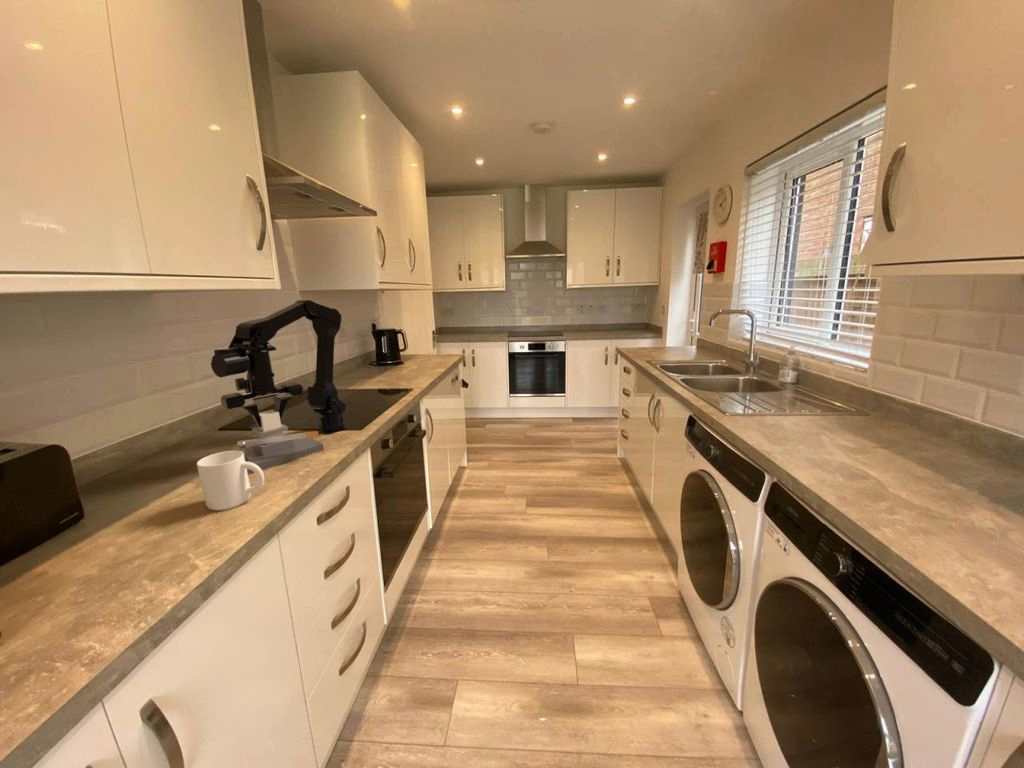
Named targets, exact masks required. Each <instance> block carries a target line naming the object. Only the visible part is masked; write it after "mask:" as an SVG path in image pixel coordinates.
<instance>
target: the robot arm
mask: <svg viewBox="0 0 1024 768" xmlns="http://www.w3.org/2000/svg"><path fill="white" fill-rule="evenodd" d="M302 318H305V319H307V320H309V321H311V325H312V328H313V330H314V332H315V334H316V338H317V340H316V364H315V382H314V384H313V385H312V386H308V388H307V397H306V400H307V401H308V404H309V406H310V408H312V410H313V412H314V413H315V414H317V413H318V418H317V422H318V432H322V433H324V434H326V435H329V434H333V433H337V432H339V431H343V430H347V427H346V426H344V418H343V413H344V412H345V411H346V407H347V404H346V403H344V402H343V401H342V400H341V399H339V394H338V390H337V388H336V386H335V384H334V381H333V380H334V363H335V362H334V358H335V338H336V336H337V334H338V333H339V331H340V330H341V329H340V328H341V324H342V314H341V312H339V310H338V309H336V308H331V307H329V306H326V305H324V304H321V303H317V302H314V301H312V300H310V299H299V300H298V299H297V301H295V302H294V303H292V304H290V305H288V306H286V307H284V308H282V309H280V310H277V311H275V312H273V313H272V314H269V315H268V316H266V317H262V318H258V319H250V320H248V321H244V322H241V323H239V324H237V325H236V326H235V328H236V329H235V333H234V336H233V338H232V340H231V341H230V344H229V345H228V348H221V349H214V350H213V352H214V355H213V356H212V358H211V363H210V367H211V370H212V372H213V373H214V375H216V377H219V378H225V377H230V376H231V377H232V376H235V375H240V374H243V373H245V374H246V379H245V378H244V377H239V378H235V379H234V382H235V387H236V390H237V391H238V392H233V393H227V394H223V395H222V396H221V397H220V403H221V406H222V407H223V408H225V409H228V410H232V409H237V408H242V409H244V410H246V411H247V412H248V413H249V414H250V416H251V417H252V418H253V419H252V420H254V422H255V423H256V426H257V427H261V420H260V416H259V408H258V404H256V403H255V402H254V401H256V400H260V399H261V400H262V399H266V398H270V397H271V398H272V399H273V402H274V410H275V411H277V412H279V416H280V421H281V420H282V418H283V415H284V414H283V413H284V410H285V409H286V406H287V404H288V401H290V400H292V397H291V396H293V397H295V396H298V395H303V394H304V393H305V392H304V391H305V390H304V387H303V385H302V384H300V383H298V382H288V383H282V384H280V387H278V388H277V387H276V384H275V380H274V379H275V373H274V372H273V368H272V362H271V357H270V352H272V351H276V350H277V347H275V346H274V345H272V344H271V343H270V341H271V340H272V339H273V338H274V337H276V335H277V332H279V331H280V330H281V329H283V328H285V327H287V326H289V325H291V324H293V323H295V322H296V321H299V320H300V319H302ZM240 391H245V394H243V393H239V392H240Z"/></svg>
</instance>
